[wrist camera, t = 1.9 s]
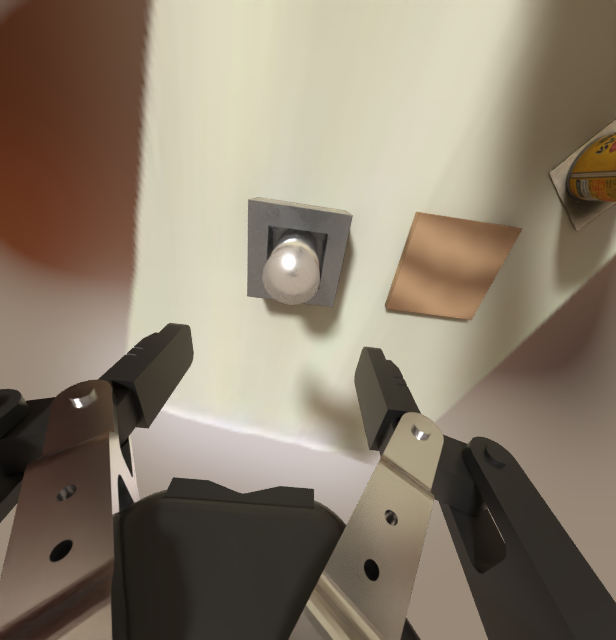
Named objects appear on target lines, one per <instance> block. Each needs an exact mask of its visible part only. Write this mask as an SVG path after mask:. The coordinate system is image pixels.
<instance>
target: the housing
mask: <svg viewBox="0 0 616 640" xmlns="http://www.w3.org/2000/svg"><path fill="white" fill-rule="evenodd" d="M352 216H353V215H351V214H350V213H348V212H347V211H345V210H338V209H332V208H325V207H319V206H312V205H306V204H299V203H293V202H286V201H280V200H273V199H267V198H260V197H257V198H253V199H248V282H247V296H249V297H257V298H264V299H272V300H275V299H274V298H272V297H271V296H270V295H269V293H268V292H267V291H266V289H265V287H264V284H263V279H262V274H263V269H264V266H265V264H266V262H267V261H268V259H269V257H270V255H271V254H272V252H273V250H274V249H275V247H276V245H277V243H278V242H279V240H280V238H281V237H282V236H283V235H284V234H285V233H286V232H288V231H290V230H294V229H298V230H303V231H306V232H308V233H309V234H310V235H311V236H312V237H313V238H314V240H315V242H316V245H317V252H318V262H319V272H320V283H319V287H318V290H317V291H316V293H315V294H314V296H313V297H312V298H310V299H309V300H308V301H306V302H304V303H303V304H311V305H319V306H326V307H333V305H334V300H335V296H336V291H337V286H338V282H339V277H340V272H341V268H342V263H343V258H344V254H345V249H346V244H347V240H348V235H349V230H350V225H351V221H352Z"/></svg>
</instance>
